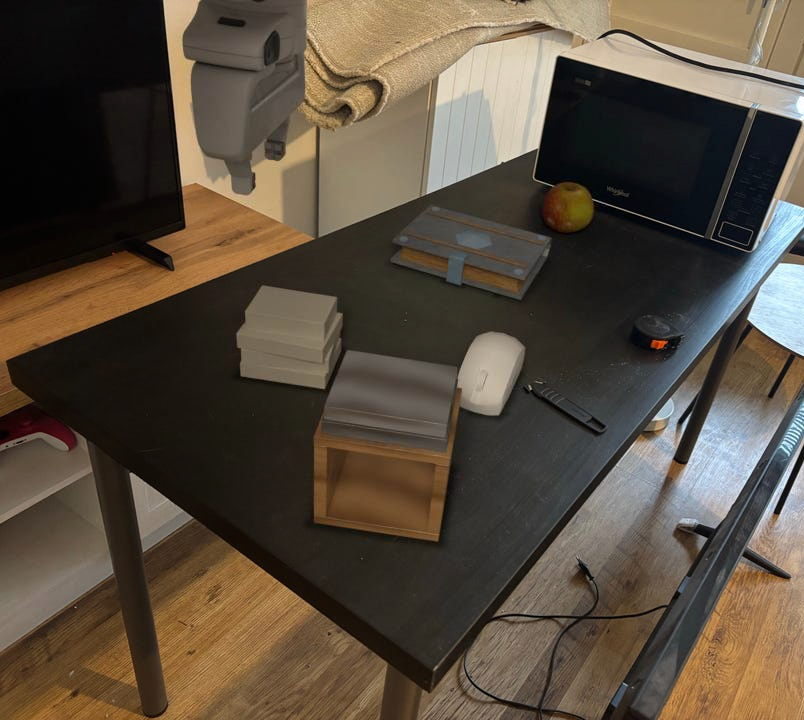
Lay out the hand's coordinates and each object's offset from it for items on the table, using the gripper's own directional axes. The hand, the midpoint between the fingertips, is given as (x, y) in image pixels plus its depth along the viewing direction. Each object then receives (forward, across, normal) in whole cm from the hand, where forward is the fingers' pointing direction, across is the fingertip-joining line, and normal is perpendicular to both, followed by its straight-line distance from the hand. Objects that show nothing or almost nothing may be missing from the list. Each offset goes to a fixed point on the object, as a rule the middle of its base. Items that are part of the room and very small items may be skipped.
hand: (260, 174), depth 73 cm
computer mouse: (+25, -5, +26) cm, 36 cm away
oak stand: (+25, +16, +17) cm, 34 cm away
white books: (+25, -3, +2) cm, 25 cm away
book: (+24, -36, +21) cm, 49 cm away
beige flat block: (+19, -3, +2) cm, 19 cm away
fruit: (+24, -54, +36) cm, 70 cm away
